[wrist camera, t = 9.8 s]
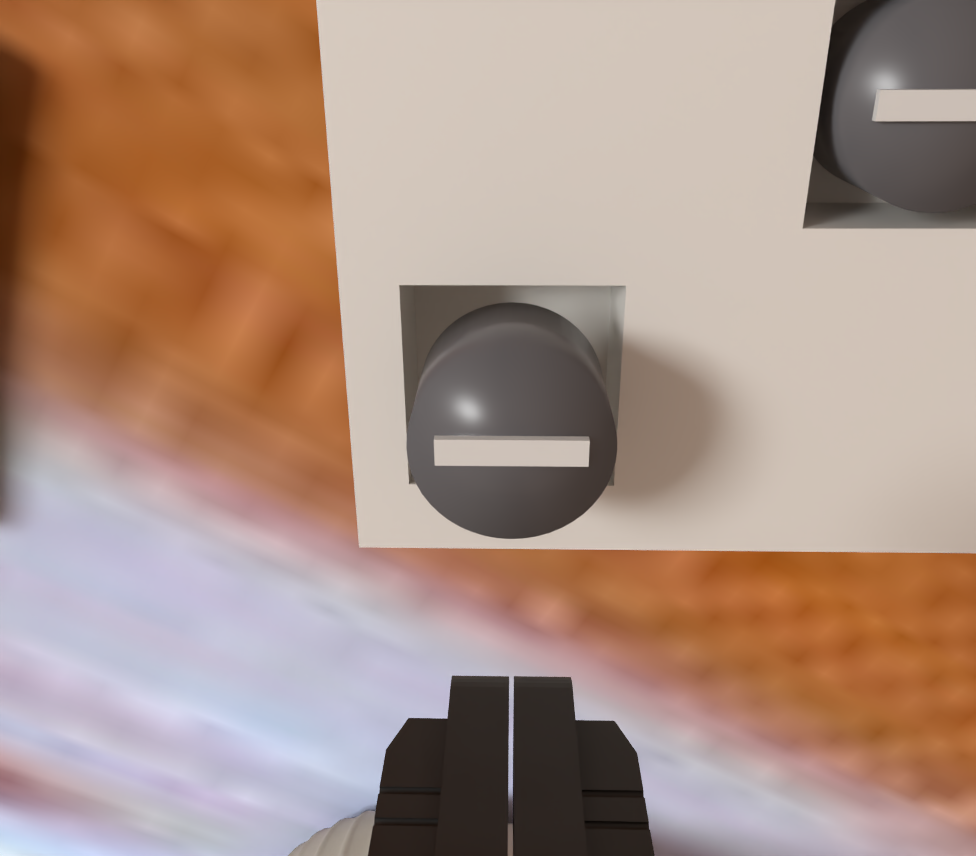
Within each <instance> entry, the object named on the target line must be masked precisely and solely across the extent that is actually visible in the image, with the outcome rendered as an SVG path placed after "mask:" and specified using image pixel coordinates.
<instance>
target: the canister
mask: <svg viewBox="0 0 976 856" xmlns="http://www.w3.org/2000/svg"><path fill="white" fill-rule="evenodd" d="M374 817H375V811H365V812H363V813H362V814H360V815H359V816H358V817H355V818H344V819H342V820H340V821H338V822H337V823H336V824H334V825H333V826H332V827H331V828H325V829H322V830H320V831H318V832H317V833H316V834H314V835H313V836H312V837H311V838H310V839H309V840H308V841H306V842H304V843H302V844H300V845H299V846H298V847H296V848H295V849H294V850H293V851H292V852H291V853H290V854H289V855H288V856H368V851H369V846H370V840H371V834H372V828H373V825H374ZM508 856H513V824H512V823H508Z"/></svg>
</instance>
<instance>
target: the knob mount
mask: <svg viewBox="0 0 976 856" xmlns="http://www.w3.org/2000/svg"><path fill="white" fill-rule="evenodd" d="M864 1H866V0H316V2H317V15H318V28H319V41H320V54H321V66H322V79H323V92H324V105H325V117H326V130H327V143H328V156H329V168H330V181H331V194H332V207H333V220H334V232H335V245H336V258H337V271H338V283H339V296H340V309H341V322H342V334H343V347H344V360H345V373H346V386H347V398H348V411H349V424H350V437H351V449H352V462H353V475H354V488H355V501H356V513H357V526H358V539H359V547H382V548H487V549H591V550H696V551H800V552H905V553H976V204H975V205H972V206H969V207H966V208H963V209H959V210H954V211H949V212H942V213H921V212H914V211H909V210H905V209H902V208H899V207H897V206H894V205H892V204H890V203H888V202H886V201H884V200H882V199H880V198H878V197H876V196H874V195H872V194H870V193H868V192H866V191H863V190H861V189H859V188H857V187H855V186H853V185H851V184H849V183H847V182H845V181H843V180H841V179H840V178H838V177H836V176H834V175H833V174H831V173H830V172H829V171H827V170H826V169H825V168H824V167H823V166H822V165H821V164H820V163H819V162H818V161H817V160H816V159H815V157H814V156H813V152H814V145H815V138H816V131H817V124H818V117H819V110H820V103H821V96H822V89H823V83H824V76H825V69H826V62H827V55H828V48H829V41H830V34H831V27H832V26H833V25H834V24H835V23H836V21H837V20H839V19H840V18H841V17H842V16H843V15H845V14H846V13H847V12H848V11H850V10H851V9H853V8H854V7H856V6H857V5H859V4H860V3H862V2H864ZM508 302H516V303H527V304H532V305H537V306H540V307H543V308H546V309H549V310H551V311H553V312H555V313H557V314H559V315H561V316H562V317H564V318H566V319H567V320H569V321H570V322H571V323H572V324H573V325H575V326H576V327H577V328H578V329H579V330H580V331H581V332H582V333H583V334H584V336H585V337H586V338H587V339H588V341H589V342H590V344H591V345H592V347H593V349H594V351H595V353H596V355H597V357H598V360H599V363H600V366H601V370H602V374H603V378H604V382H605V386H606V390H607V394H608V398H609V402H610V406H611V410H612V414H613V418H614V422H615V427H616V433H617V456H616V463H615V466H614V469H613V473H612V476H611V478H610V480H609V482H608V485H607V486H606V488H605V490H604V491H603V493H602V494H601V496H600V497H599V498H598V500H597V501H596V502H595V503H594V504H593V506H592V507H590V508H589V509H588V510H587V511H586V512H585V513H584V514H583V515H582V516H580V517H579V518H577V519H576V520H575V521H573V522H572V523H570V524H568V525H566V526H564V527H562V528H560V529H558V530H555V531H553V532H551V533H547V534H544V535H540V536H536V537H530V538H523V539H502V538H494V537H488V536H484V535H480V534H477V533H474V532H471V531H469V530H466V529H464V528H462V527H460V526H458V525H456V524H454V523H453V522H451V521H449V520H448V519H447V518H445V517H444V516H443V515H441V514H440V513H439V512H438V511H437V510H436V509H435V508H434V507H433V506H431V505H430V503H429V502H428V501H427V500H426V498H425V497H424V496H423V495H422V493H421V491H420V490H419V488H418V486H417V485H416V483H415V480H414V478H413V476H412V473H411V470H410V467H409V463H408V458H407V449H406V443H407V431H408V425H409V421H410V417H411V413H412V409H413V405H414V401H415V397H416V394H417V390H418V386H419V382H420V378H421V374H422V370H423V367H424V364H425V360H426V357H427V355H428V353H429V351H430V349H431V347H432V346H433V344H434V343H435V341H436V340H437V338H438V337H439V336H440V335H441V333H442V332H443V331H444V330H445V329H446V328H447V327H448V326H449V325H451V324H452V323H453V322H454V321H456V320H457V319H459V318H460V317H462V316H463V315H465V314H467V313H469V312H471V311H473V310H475V309H478V308H481V307H484V306H487V305H492V304H497V303H508Z"/></svg>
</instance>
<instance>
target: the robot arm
mask: <svg viewBox="0 0 976 856" xmlns="http://www.w3.org/2000/svg"><path fill="white" fill-rule="evenodd" d="M508 735H509V677H503V676H452V680H451V689H450V699H449V710H448V719H431V718H408V720H407V721H406V723H405V724H404V725H403V727H402V728H401V730H400V731H399V732H398V734H397V735H396V737H395V738H394V739H393V741H392V742H391V744H390V745H389V746H388V748H387V749H386V754H385V760H384V765H383V771H382V777H381V783H380V793H379V794H378V800H377V805H376V811H375V817H374V825H373V828H372V834H371V840H370V846H369V851H368V856H508ZM648 823H649V822H648V816H647V810H646V804H645V798H644V797H643V786H642V780H641V774H640V768H639V762H638V756H637V753H636V751H635V750H634V748H633V747H632V745H631V744H630V743H629V741H628V740H627V738H626V737H625V735H624V734H623V732H622V731H621V730H620V728H619V727H618V725H617V724H616V722H615V721H584V720H575V711H574V699H573V688H572V680H571V677H523V676H514V729H513V856H654V851H653V845H652V839H651V833H650V830H649V825H648Z"/></svg>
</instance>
